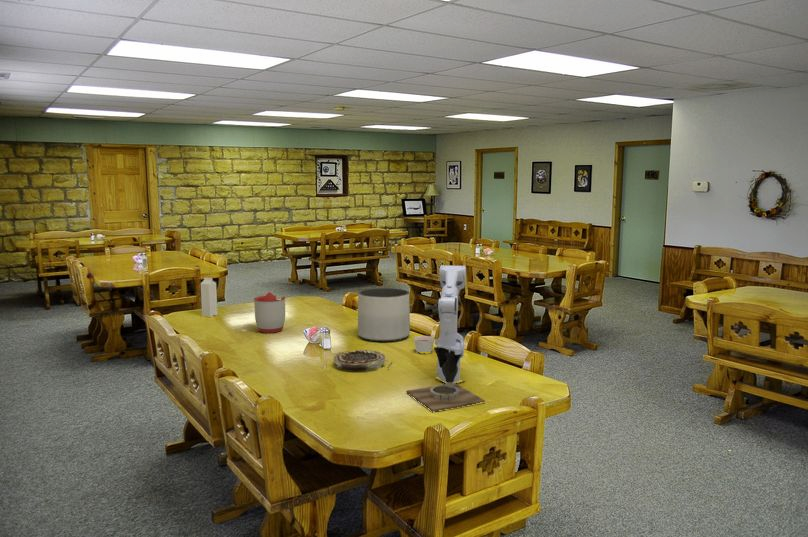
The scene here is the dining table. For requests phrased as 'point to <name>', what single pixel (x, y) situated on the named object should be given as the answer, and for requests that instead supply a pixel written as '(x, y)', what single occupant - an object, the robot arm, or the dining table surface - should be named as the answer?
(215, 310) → the milk
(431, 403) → the socket board
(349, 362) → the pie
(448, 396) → the socket ring
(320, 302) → the dining table surface
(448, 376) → the light bulb
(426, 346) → the candle
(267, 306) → the citrus juicer
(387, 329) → the planter
